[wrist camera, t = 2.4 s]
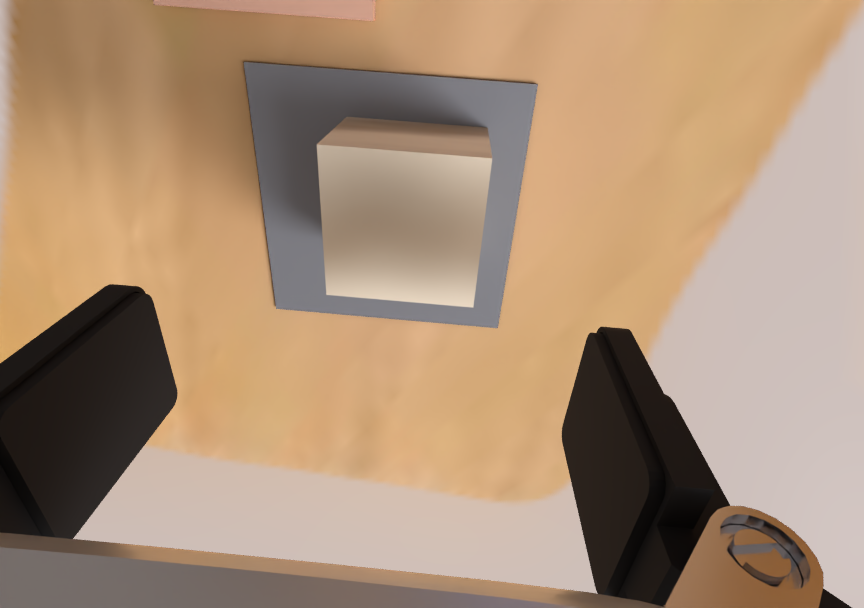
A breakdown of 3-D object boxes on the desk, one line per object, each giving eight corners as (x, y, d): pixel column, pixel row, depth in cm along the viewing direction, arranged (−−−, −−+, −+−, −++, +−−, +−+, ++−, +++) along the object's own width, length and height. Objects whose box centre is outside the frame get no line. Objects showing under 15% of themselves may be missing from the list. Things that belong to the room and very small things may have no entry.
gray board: (244, 61, 16) (243, 62, 16) (537, 84, 16) (537, 84, 16) (277, 307, 22) (276, 309, 22) (497, 326, 22) (497, 328, 21)
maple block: (346, 116, 17) (316, 144, 14) (487, 127, 17) (492, 158, 14) (350, 244, 20) (326, 294, 16) (472, 254, 20) (473, 307, 16)
